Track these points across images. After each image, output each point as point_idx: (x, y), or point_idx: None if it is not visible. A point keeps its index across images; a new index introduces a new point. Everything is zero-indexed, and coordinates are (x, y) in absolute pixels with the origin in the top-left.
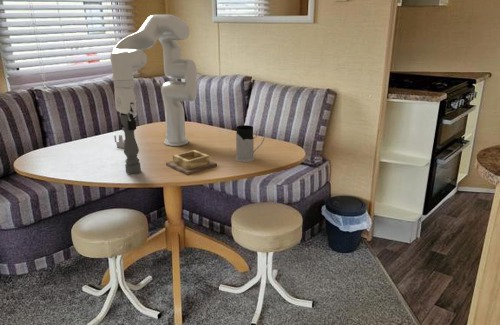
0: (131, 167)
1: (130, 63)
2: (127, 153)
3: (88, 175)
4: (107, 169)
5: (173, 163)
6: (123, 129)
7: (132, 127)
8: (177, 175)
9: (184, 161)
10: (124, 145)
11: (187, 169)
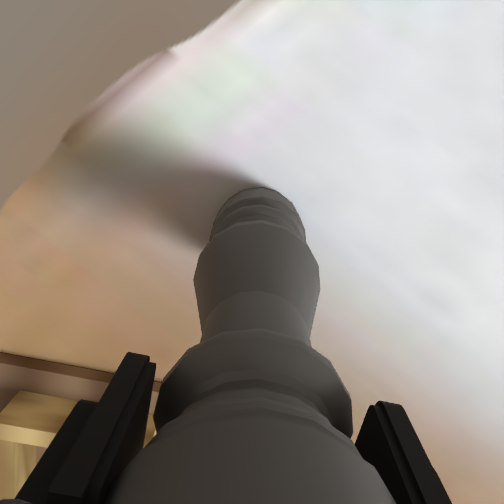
0: (225, 206)
1: None
2: (235, 224)
3: (456, 11)
4: (427, 163)
5: (149, 409)
6: (259, 339)
7: (77, 418)
8: (28, 324)
9: (29, 422)
10: (281, 254)
11: (22, 388)
